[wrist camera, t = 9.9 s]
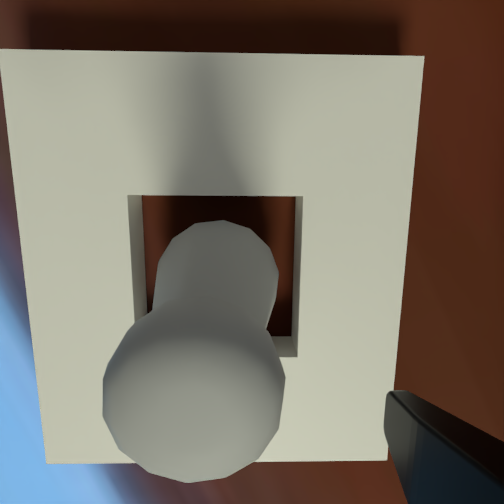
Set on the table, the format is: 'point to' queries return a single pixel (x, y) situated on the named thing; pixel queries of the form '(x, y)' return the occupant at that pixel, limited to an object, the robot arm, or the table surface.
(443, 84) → the table surface
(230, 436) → the salt shaker
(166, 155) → the socket board
